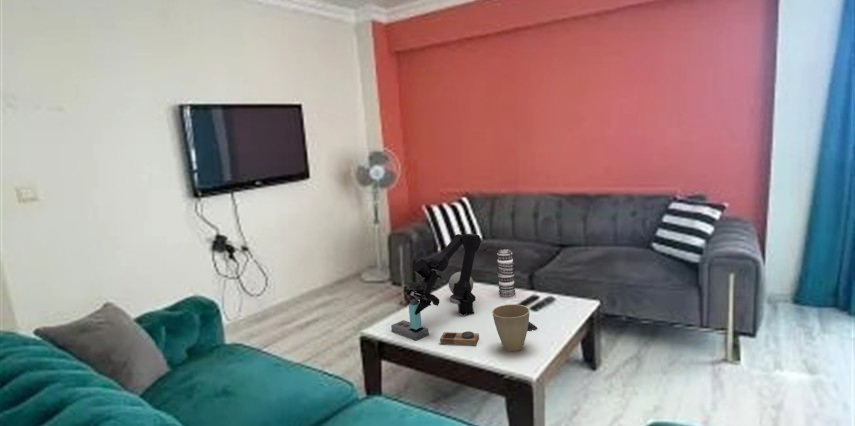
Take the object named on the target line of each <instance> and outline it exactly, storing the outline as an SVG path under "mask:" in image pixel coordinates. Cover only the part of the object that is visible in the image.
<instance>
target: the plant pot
mask: <svg viewBox="0 0 855 426" xmlns="http://www.w3.org/2000/svg"><path fill="white" fill-rule="evenodd" d="M491 313H492V316H493V317H492V318H493V321H494V325H495V328H496V332H497V334H498V338H499V340H500V341H501V344H502V346H503V348H504V350H506V351H508V352H519V351H521V350H522V349H523V347H524V344H525V342H526V338H527V333H528V332H527V329H528V323H529V322H530V308H529V307H528V306H525V305H522V304H503V305H499V306H497V307H494V308H493V309H492V312H491Z"/></svg>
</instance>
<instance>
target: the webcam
mask: <svg viewBox="0 0 855 426" xmlns="http://www.w3.org/2000/svg"><path fill="white" fill-rule="evenodd" d="M460 274H461V271H458V272H454V273H453V274H452V275H451V276H450V278H449V280H448V288H449V291H450V293H452V294H451V295H450V297H449V301H450V302H451V303H454V304H457V305H458V304H459V301H458V300H456V298H455V296H454V295H453V289H454V284H455V283H457V282H458V281H459V279H460ZM473 280H474V279H473V277H472V275H471V276H470V285H471V292H472V290H473V289H474V281H473Z"/></svg>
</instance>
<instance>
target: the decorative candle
mask: <svg viewBox="0 0 855 426" xmlns="http://www.w3.org/2000/svg"><path fill="white" fill-rule="evenodd" d="M496 256H497V260H496V270H497V271H496V272H497V276H498V289H499V290H498V295H499V296H498V297H499V298H500V299H502V300H512V299H515V298H516V289H515V288H516V284H515V279H514V276H515V269H514V268H515V266H514V265H515V262H513V261H514V259H513V252H512V251H511V249H507V248H506V249H500V250H498V252H497V253H496Z"/></svg>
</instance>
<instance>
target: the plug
mask: <svg viewBox="0 0 855 426" xmlns="http://www.w3.org/2000/svg"><path fill="white" fill-rule="evenodd" d="M418 301H419V299H418V300H417V299H411V300H410V299H409V304H408V313H409V322H410V325H411V328H413V329H415V330H417V329H419V328H421V327H422V325H423V324H422V323H423V322H422V316H421V315H422V314H421V312H420V313H418V314H417V315H416V314H415V311H416V309H417V307H418V305H419V303H418Z"/></svg>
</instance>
